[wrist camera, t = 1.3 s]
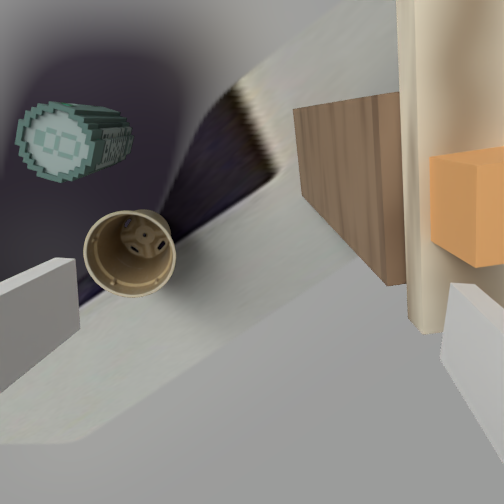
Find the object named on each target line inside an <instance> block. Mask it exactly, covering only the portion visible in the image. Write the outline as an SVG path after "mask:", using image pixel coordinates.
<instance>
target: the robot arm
mask: <svg viewBox="0 0 504 504" xmlns="http://www.w3.org/2000/svg"><path fill="white" fill-rule="evenodd" d="M79 329H80V317H79V304H78V290H77V276H76V263H75V259H69V258H54V259H51V260H49V261H47V262H45V263H42V264H40V265H38V266H36V267H34V268H31V269H29V270H27V271H24V272H22V273H20V274H18V275H16V276H13V277H11V278H9V279H7V280H5V281H2V282H0V393H1V392H3V391H4V390H5V389H6V388H8V387H9V386H10V385H11V384H13V383H14V382H15V381H16V380H17V379H19V378H20V377H21V376H22V375H24V374H25V373H26V372H27V371H29V370H30V369H31V368H32V367H34V366H35V365H36V364H37V363H39V362H40V361H41V360H42V359H44V358H45V357H46V356H47V355H48V354H50V353H51V352H52V351H53V350H55V349H56V348H57V347H58V346H60V345H61V344H62V343H63V342H65V341H66V340H67V339H68V338H70V337H71V336H72V335H73V334H74V333H76V332H77V331H78V330H79ZM440 360H441V362H442V364H443V365H444V367H445V369H446V370H447V372H448V373H449V375H450V377H451V379H452V380H453V382H454V383H455V385H456V387H457V388H458V390H459V391H460V393H461V395H462V397H463V398H464V400H465V402H466V403H467V405H468V407H469V408H470V410H471V412H472V413H473V415H474V416H475V418H476V420H477V421H478V423H479V425H480V426H481V428H482V430H483V431H484V433H485V434H486V436H487V438H488V440H489V441H490V443H491V445H492V446H493V448H494V449H495V451H496V453H497V454H498V456H499V458H500V459H501V461H502V463H503V464H504V308H502V307H501V306H500V305H499V304H498V303H497V302H495V301H494V300H493V299H492V298H491V297H489V296H488V295H487V294H486V293H485V292H484V291H482V290H481V289H480V288H479V287H478V286H476V285H475V284H465V283H450V289H449V296H448V303H447V310H446V317H445V323H444V330H443V337H442V344H441V351H440Z"/></svg>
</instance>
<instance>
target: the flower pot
mask: <svg viewBox="0 0 504 504" xmlns="http://www.w3.org/2000/svg"><path fill="white" fill-rule="evenodd" d="M128 219H131V221H130V223H129V224H128V226H127V228H126V227H124V225H125V222H126V221H127V220H128ZM144 233H145V234H146V237H144V236H143V234H144ZM162 241H164V242H165V245H164V246H163V247H162V248H161V249H160V250H159V249H158V246H159V245H160V244H161V242H162ZM131 246H133V247H134V248H136V249H137V250H138V252H136V251H134V250H133V249H132V248H131ZM84 260H85V265H86V267H87V270H88V272H89V274H90V275H91V277H92V278H93V279H94V281H95V282H96V283H97V284H98V285H100V286H101V287H102V288H103V289H105V290H106V291H108V292H110V293H113V294H115V295H118V296H122V297H128V298H135V297H143V296H147V295H150V294H152V293H154V292H156V291H158V290H159V289H160V288H162V287H163V286H164V285H165V284H166V283H167V282H168V280H169V279H170V277H171V276H172V274H173V271H174V268H175V264H176V249H175V245H174V242H173V240H172V238H171V231H170V228H169V225H168V223H167V222H166V220H165V219H164V218H163V217H162V216H161V215H159V214H158V213H156V212H154V211H151V210H136V211H118V212H114V213H111V214H108V215H106V216H104V217H103V218H101V219H100V220H98V221H97V222H96V223H95V224H94V225H93V227H92V228H91V229H90V231H89V233H88V234H87V237H86V239H85V243H84Z"/></svg>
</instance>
